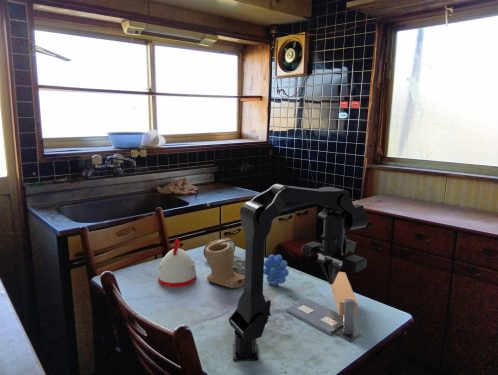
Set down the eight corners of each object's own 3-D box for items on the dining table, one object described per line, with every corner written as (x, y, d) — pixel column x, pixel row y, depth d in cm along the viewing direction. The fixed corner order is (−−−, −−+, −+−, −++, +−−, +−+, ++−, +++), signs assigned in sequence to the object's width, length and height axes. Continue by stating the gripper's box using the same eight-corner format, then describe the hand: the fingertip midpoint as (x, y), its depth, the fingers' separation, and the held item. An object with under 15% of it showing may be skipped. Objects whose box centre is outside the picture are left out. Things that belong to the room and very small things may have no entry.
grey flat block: (360, 335, 107) (360, 333, 107) (350, 341, 104) (350, 339, 104) (345, 327, 111) (345, 325, 111) (335, 334, 108) (335, 332, 107)
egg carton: (219, 269, 151) (219, 260, 151) (229, 263, 158) (229, 254, 157) (242, 275, 146) (242, 265, 145) (251, 268, 153) (251, 258, 152)
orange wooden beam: (358, 334, 105) (360, 304, 104) (339, 333, 106) (341, 303, 104) (343, 294, 129) (345, 268, 127) (328, 293, 129) (330, 268, 127)
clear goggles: (232, 253, 168) (232, 235, 166) (236, 255, 166) (236, 237, 164) (203, 261, 159) (202, 242, 157) (207, 263, 157) (207, 244, 155)
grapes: (295, 286, 136) (296, 255, 134) (282, 292, 132) (283, 260, 130) (271, 276, 145) (272, 246, 142) (259, 281, 140) (259, 251, 138)
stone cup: (198, 283, 139) (197, 244, 136) (220, 272, 148) (220, 235, 145) (229, 295, 130) (229, 254, 127) (251, 283, 139) (251, 244, 136)
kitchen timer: (198, 271, 149) (197, 235, 146) (192, 287, 135) (191, 247, 133) (163, 271, 149) (162, 234, 146) (154, 286, 136) (152, 247, 133)
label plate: (350, 322, 113) (351, 318, 113) (330, 335, 107) (330, 331, 107) (307, 301, 126) (307, 297, 126) (286, 311, 119) (286, 307, 119)
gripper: (379, 234, 105) (375, 286, 108) (324, 219, 119) (322, 266, 122) (356, 243, 98) (352, 299, 101) (301, 226, 111) (299, 276, 114)
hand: (331, 283), depth 110 cm, fingers closed
